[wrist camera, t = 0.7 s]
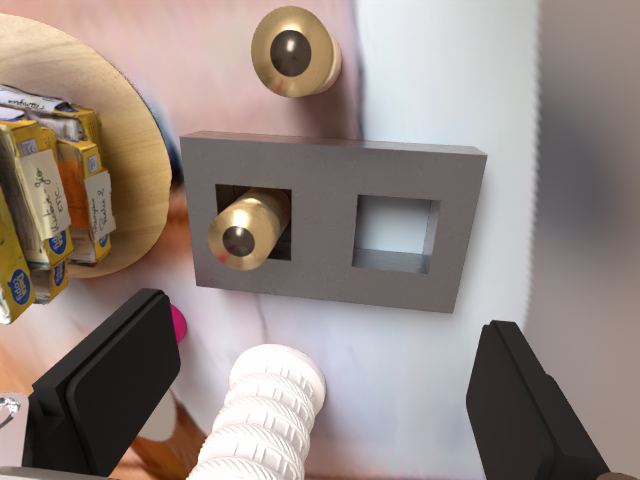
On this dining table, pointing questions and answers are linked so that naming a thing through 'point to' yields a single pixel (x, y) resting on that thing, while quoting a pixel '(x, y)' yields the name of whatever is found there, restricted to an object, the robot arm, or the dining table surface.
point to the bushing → (295, 53)
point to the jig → (326, 216)
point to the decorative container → (264, 418)
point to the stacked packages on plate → (71, 166)
